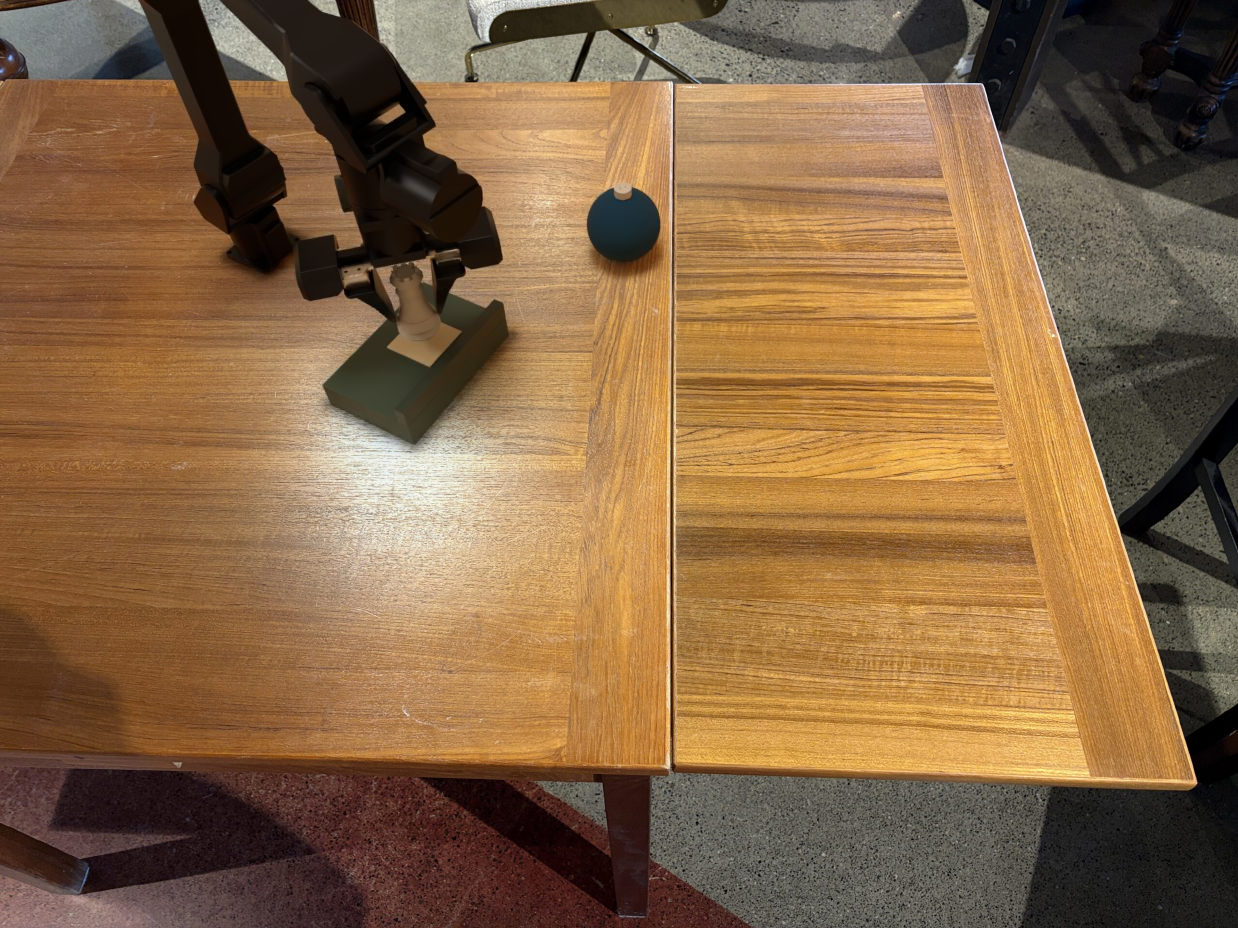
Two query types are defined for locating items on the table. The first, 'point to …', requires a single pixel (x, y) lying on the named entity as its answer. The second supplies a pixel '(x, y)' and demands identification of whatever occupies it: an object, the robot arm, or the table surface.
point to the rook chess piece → (413, 304)
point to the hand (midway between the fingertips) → (417, 315)
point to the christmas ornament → (623, 223)
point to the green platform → (417, 367)
